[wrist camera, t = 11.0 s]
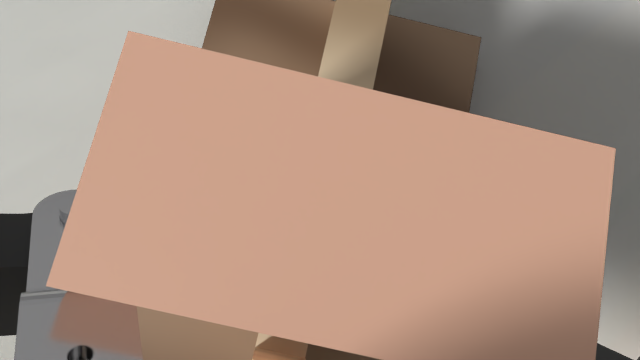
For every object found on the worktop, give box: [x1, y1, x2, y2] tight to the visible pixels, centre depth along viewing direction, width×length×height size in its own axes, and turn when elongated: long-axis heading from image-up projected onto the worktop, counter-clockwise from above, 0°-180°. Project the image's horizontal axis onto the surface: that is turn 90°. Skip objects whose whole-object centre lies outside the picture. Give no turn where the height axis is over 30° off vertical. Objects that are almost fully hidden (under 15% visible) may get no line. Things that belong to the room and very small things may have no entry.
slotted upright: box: [46, 31, 616, 360], centre depth 12 cm, size 3×6×12 cm, turn 78°
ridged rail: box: [137, 0, 481, 360], centre depth 16 cm, size 20×10×7 cm, turn 168°
